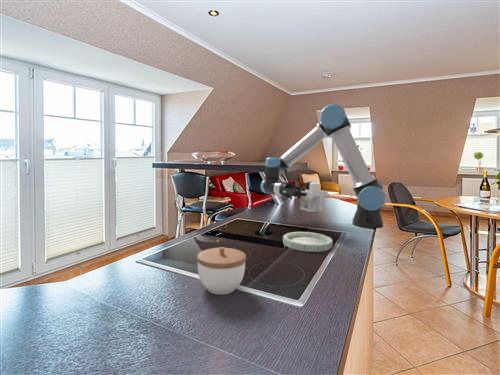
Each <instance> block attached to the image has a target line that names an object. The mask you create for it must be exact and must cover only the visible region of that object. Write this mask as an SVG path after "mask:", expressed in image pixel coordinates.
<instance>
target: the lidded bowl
mask: <svg viewBox="0 0 500 375" xmlns="http://www.w3.org/2000/svg"><path fill="white" fill-rule="evenodd" d="M196 257H197V258H196V259H197V260H196V261H197V273H198V278H199V280H200V282H201V284H202V285H203V287H204V288H206V289H207V291H208V292H209V293H210V294H213V295H220V296H221V295H228V294H229V295H230V293H231V294H232V293H233V292H235V290H236V289H237V288H238V287H239V285H240V284H241V283H242V281H243V278H244V275H245V272H246V261H247V255H246V253H245V252H243V251H242V250H239V249H236V248H231V247H224V246H221V247H213V248H212V247H211V248H208V249H204V250H202V251H200V252H199V253H198V254H197V255H196Z"/></svg>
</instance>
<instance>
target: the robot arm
mask: <svg viewBox="0 0 500 375" xmlns="http://www.w3.org/2000/svg"><path fill="white" fill-rule="evenodd" d="M349 120H350V119H349V118H348V116H347V113H346V111H345V109H344V107H343V106H342V105H339V104H337V103H331V104H328V105H326V106H324V107H323V108H322V110H321V112H320V114H319V121H318V122H317V123H316V126H315V127H314V128H313V129H312V130H310V132H308V133H307V134H306V135H305V136H304V137H303V138H301V139H300V140H298V142H297V143H295V144H294V145H293V146H292V147H290V148H289V149H288V150H287V151H286V152H284V153H283V155H281V156H280V157H266V159H265V165H264V166H265V170H264V171H265V172H264V173H265V176H264V179H263V180H262V181H261V183H260V190H261V192H262V193H264V194H267V195H273V196H276V197H277V196H279V198H282V197H283V198H287V199H289V198H292V197H295V198H296V197H297V199H300V198H301V197H305V198H310V199H313V195H314V193H313V192H307V191H305V187H301V186H295V185H294V183H292V182H290V181H289V182H288V181H282V180H280V175H282V174H284V173H285V172H286V171H285V170H288V169H289V168H290V167H291V166H293V165H294V164H295V163H296V162H297V161H299V160H300V159H301V158H302V157H303V156H304V155H306V154H307V153H308V152H310V151H311V150H312V149H313V148H315V146H317V145H318V144H320V142H322V141H323V140H324V139H325V138H329V139H332V140H333V142H334V144H335V146H336V148H337V150H338V153H339V156H340V157H341V160H342V161H343V163H344V166H345V167H346V169H347V172H348V174H349V175H350V178H351V181H352V182H353V185H352V190H353V192H354V195H355V196H356V198H357V203H356V211H355V213H354V215H353V218H352V221H351V222H352V225H354V226H357V227H360V228H366V229H382V228H383V227H384V219H383V216H382V211H381V210H382V207H383V205H384V204H385V201H386V195H385V194H386V193H385V192H384V191H383V189H384V184H383V182H382V181H379V180H378V179H377V177H374V176H373V175H372V174H371V172H370V170H369V167H368V166H367V164H366V162H365V160H364V157H363V155H362V153H361V150H360V149H359V147H358V145H357V142H356V141H355V139H354V137H353V134H352V132H351V127H352V124H351V123H350V121H349ZM319 193H320V194H324V198H328V193H329V192H328V190H321V189H320V192H319Z"/></svg>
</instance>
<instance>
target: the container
mask: <svg viewBox="0 0 500 375" xmlns="http://www.w3.org/2000/svg"><path fill="white" fill-rule="evenodd" d="M304 188H305V191H307V192H313V193H314V195H313V199H310V198H305V197H301V196H300V198H299V199H300V203H299V204H300V205H299V209H300V210H302V211H306V212H311V213H312V212H313V213H314V212H323V211H324V204H325V203H324V200H325V197H324V194H320V193H319V192H320V190H321V183H320V182H318V181H307V182H305V187H304Z"/></svg>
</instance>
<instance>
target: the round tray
mask: <svg viewBox="0 0 500 375" xmlns="http://www.w3.org/2000/svg"><path fill="white" fill-rule="evenodd" d="M333 241H334V240H333V238H331V236H327V235H325V234H322V233H317V232H312V231H311V232H310V231H293V232H287V233H286V234H283V236H282V243H283V245H284V246H285V247H287V248H290V249H292V250H297V251H301V252H312V253H313V252H314V253H320V252H325V251H330V249H332V248H333V245H334V244H333Z"/></svg>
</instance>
